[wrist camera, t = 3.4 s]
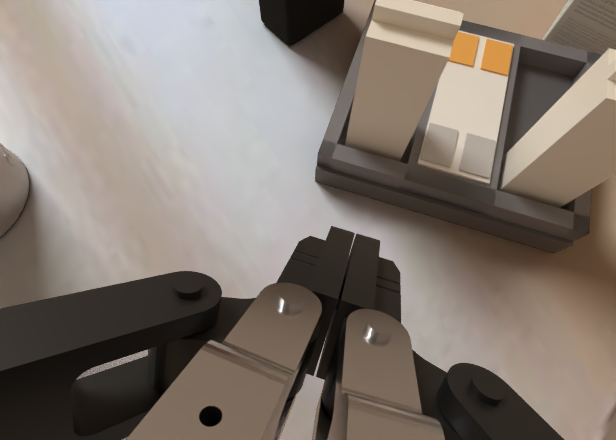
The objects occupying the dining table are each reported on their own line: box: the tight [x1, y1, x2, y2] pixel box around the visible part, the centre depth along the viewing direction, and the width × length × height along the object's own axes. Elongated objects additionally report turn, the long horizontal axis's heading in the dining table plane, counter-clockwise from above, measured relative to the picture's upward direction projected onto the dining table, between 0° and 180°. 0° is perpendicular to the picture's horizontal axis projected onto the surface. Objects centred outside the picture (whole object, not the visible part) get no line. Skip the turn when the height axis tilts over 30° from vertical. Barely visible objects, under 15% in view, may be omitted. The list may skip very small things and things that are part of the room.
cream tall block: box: [497, 48, 616, 208], centre depth 21 cm, size 3×4×11 cm
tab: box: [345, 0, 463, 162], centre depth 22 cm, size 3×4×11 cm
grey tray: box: [315, 0, 601, 253], centre depth 29 cm, size 16×18×4 cm
